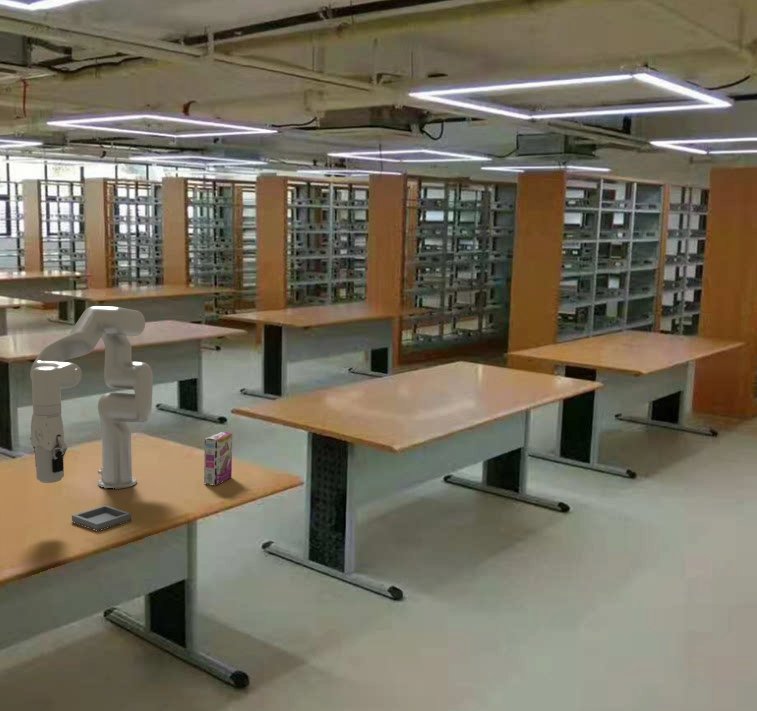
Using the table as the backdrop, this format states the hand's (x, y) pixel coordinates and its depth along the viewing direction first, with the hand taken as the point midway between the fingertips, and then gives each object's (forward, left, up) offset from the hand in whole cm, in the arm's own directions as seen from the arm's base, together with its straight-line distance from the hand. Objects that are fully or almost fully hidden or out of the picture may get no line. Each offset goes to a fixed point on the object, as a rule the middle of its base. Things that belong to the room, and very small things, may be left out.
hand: (49, 468), depth 242 cm
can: (0, 0, -4) cm, 4 cm away
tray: (+8, +12, -17) cm, 22 cm away
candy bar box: (+6, +62, -18) cm, 64 cm away
